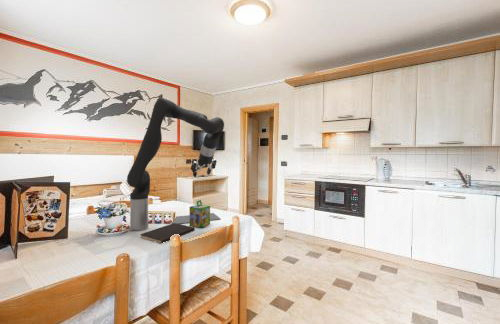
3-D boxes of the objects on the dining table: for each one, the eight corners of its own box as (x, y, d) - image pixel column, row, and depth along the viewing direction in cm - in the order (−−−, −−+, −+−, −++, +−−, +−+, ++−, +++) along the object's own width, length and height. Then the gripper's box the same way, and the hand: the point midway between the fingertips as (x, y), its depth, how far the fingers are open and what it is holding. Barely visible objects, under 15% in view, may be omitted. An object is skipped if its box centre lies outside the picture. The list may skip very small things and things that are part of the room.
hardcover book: (139, 238, 125) (139, 234, 124) (174, 226, 144) (174, 222, 144) (161, 245, 117) (161, 240, 116) (194, 231, 137) (194, 227, 136)
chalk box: (201, 228, 140) (201, 203, 140) (188, 226, 144) (188, 201, 144) (210, 224, 149) (210, 200, 148) (198, 222, 153) (198, 198, 152)
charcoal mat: (172, 225, 146) (172, 224, 146) (169, 218, 160) (169, 217, 160) (220, 219, 158) (220, 218, 158) (213, 213, 173) (213, 212, 173)
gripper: (215, 147, 138) (209, 169, 146) (192, 149, 129) (187, 172, 138) (222, 154, 134) (215, 177, 142) (198, 157, 125) (192, 181, 133)
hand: (201, 175), depth 140 cm, fingers open, 8 cm apart
